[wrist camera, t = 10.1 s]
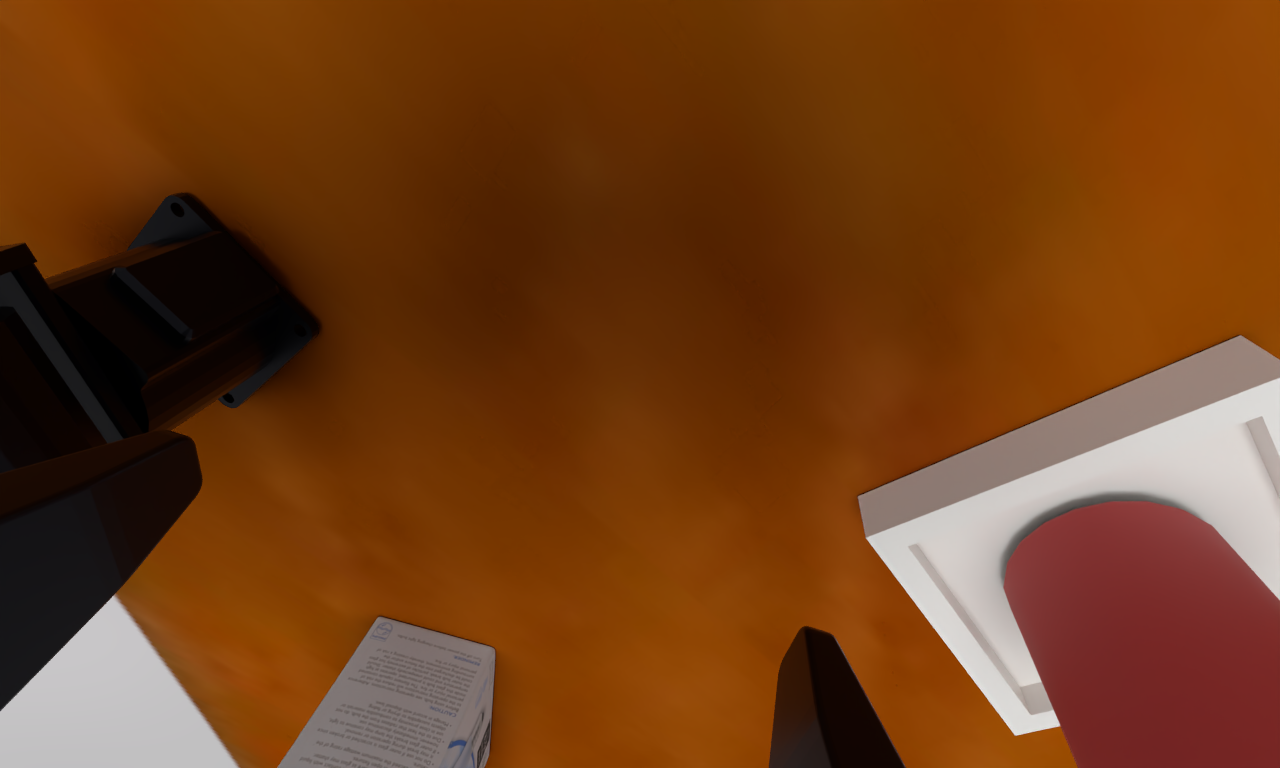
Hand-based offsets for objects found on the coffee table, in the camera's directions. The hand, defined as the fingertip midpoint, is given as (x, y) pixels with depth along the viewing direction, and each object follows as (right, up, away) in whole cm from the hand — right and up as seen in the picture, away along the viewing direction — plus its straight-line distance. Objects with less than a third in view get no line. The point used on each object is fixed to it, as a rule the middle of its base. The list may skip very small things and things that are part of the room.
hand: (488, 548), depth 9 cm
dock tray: (+19, -3, +13) cm, 23 cm away
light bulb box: (-9, -15, +26) cm, 31 cm away
